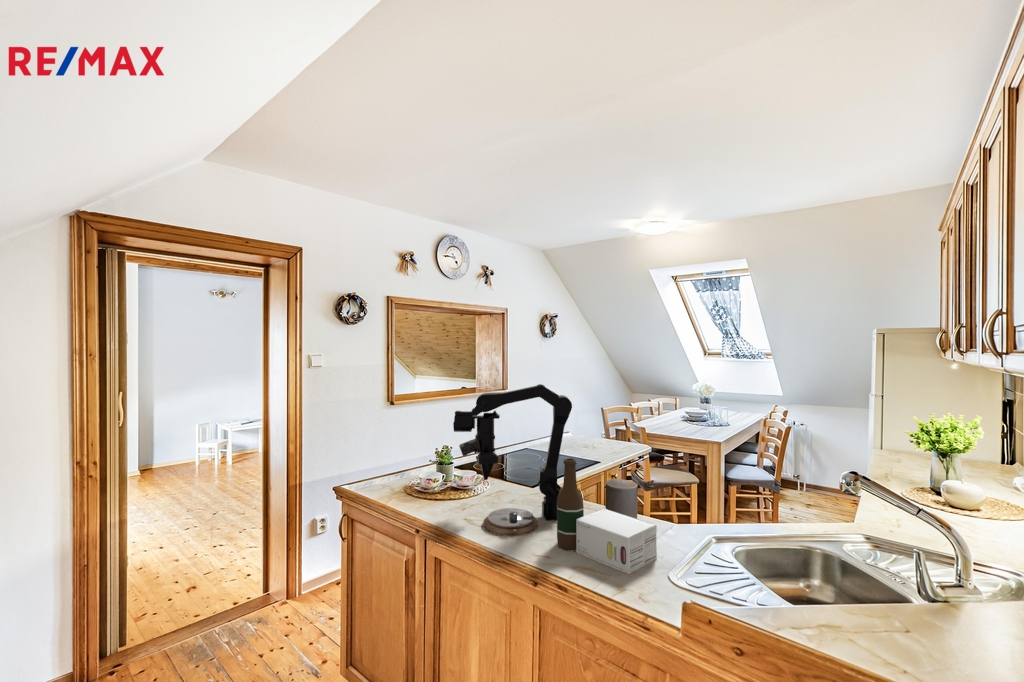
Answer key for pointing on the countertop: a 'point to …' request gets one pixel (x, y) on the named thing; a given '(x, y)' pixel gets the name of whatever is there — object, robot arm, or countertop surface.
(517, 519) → the dial
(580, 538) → the supplement box
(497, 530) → the stand
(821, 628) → the countertop surface
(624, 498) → the pillar candle
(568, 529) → the beer bottle
